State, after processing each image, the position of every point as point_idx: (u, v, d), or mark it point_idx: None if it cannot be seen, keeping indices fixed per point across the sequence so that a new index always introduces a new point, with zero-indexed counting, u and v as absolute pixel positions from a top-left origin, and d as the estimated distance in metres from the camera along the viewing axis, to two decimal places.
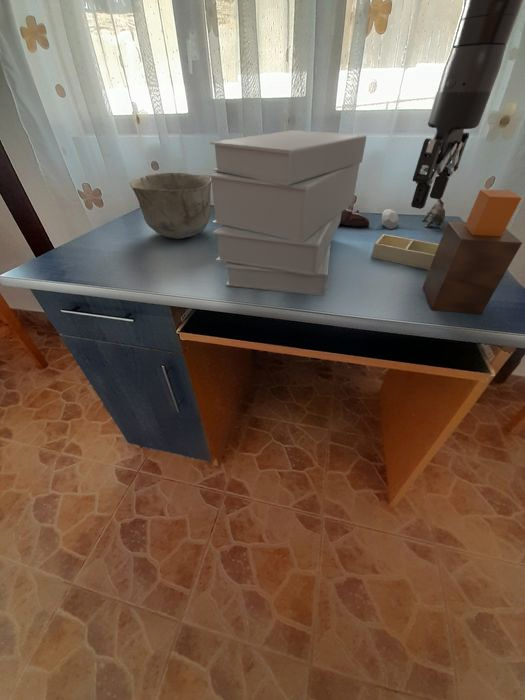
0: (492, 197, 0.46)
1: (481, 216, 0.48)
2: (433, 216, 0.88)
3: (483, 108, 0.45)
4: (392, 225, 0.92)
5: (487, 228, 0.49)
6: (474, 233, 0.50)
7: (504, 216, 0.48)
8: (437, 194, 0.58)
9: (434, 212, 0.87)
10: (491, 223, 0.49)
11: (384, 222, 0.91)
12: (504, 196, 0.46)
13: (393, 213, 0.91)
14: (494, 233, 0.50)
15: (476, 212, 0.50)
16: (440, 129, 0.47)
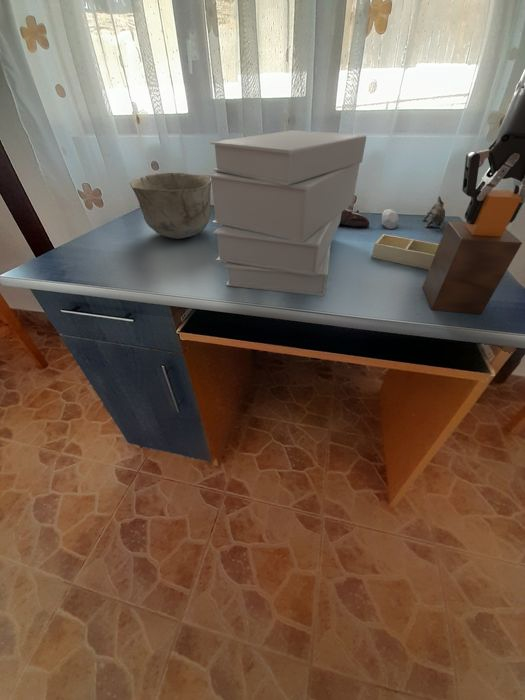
0: (492, 197, 0.46)
1: (481, 216, 0.48)
2: (433, 216, 0.88)
3: None
4: (392, 225, 0.92)
5: (487, 228, 0.49)
6: (474, 233, 0.50)
7: (504, 216, 0.48)
8: None
9: (434, 212, 0.87)
10: (491, 223, 0.49)
11: (384, 222, 0.91)
12: (504, 196, 0.46)
13: (393, 213, 0.91)
14: (494, 233, 0.50)
15: None
16: (498, 135, 0.44)
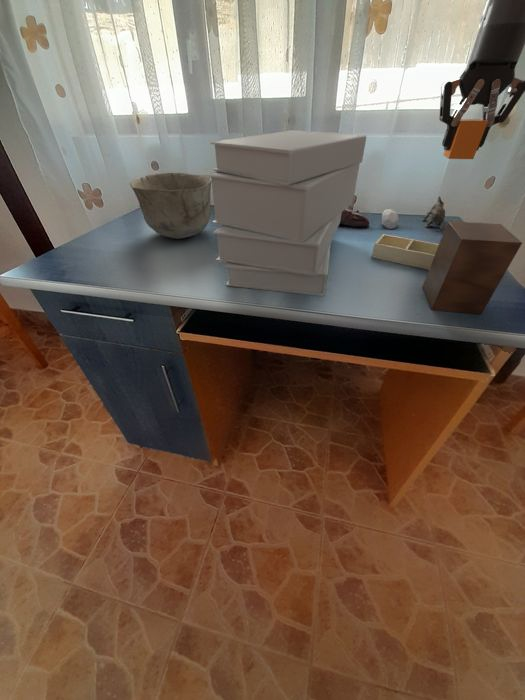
0: (463, 121, 0.55)
1: (455, 140, 0.57)
2: (433, 216, 0.88)
3: (506, 41, 0.47)
4: (392, 225, 0.92)
5: (461, 152, 0.58)
6: (450, 157, 0.58)
7: (475, 139, 0.56)
8: None
9: (434, 212, 0.87)
10: (463, 146, 0.57)
11: (384, 222, 0.91)
12: (474, 120, 0.55)
13: (393, 213, 0.91)
14: (467, 156, 0.58)
15: None
16: None
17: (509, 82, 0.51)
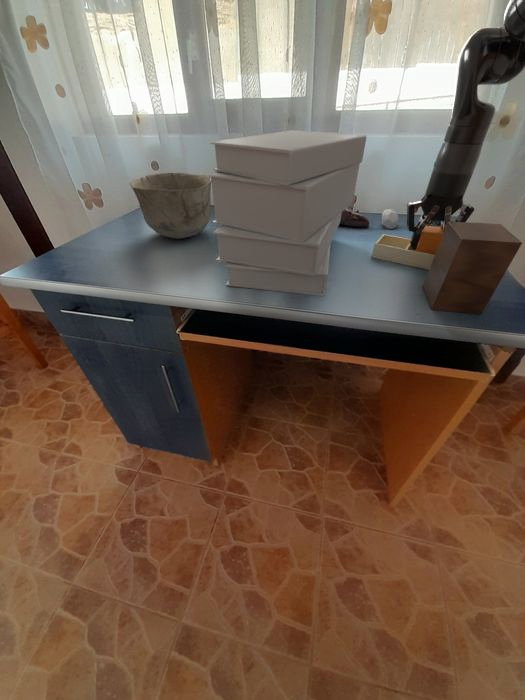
0: (425, 232, 0.68)
1: (419, 245, 0.70)
2: None
3: (452, 185, 0.60)
4: (392, 225, 0.92)
5: None
6: None
7: (434, 244, 0.69)
8: None
9: None
10: (426, 249, 0.70)
11: (384, 222, 0.91)
12: (433, 232, 0.68)
13: (393, 213, 0.91)
14: None
15: None
16: None
17: (459, 207, 0.65)
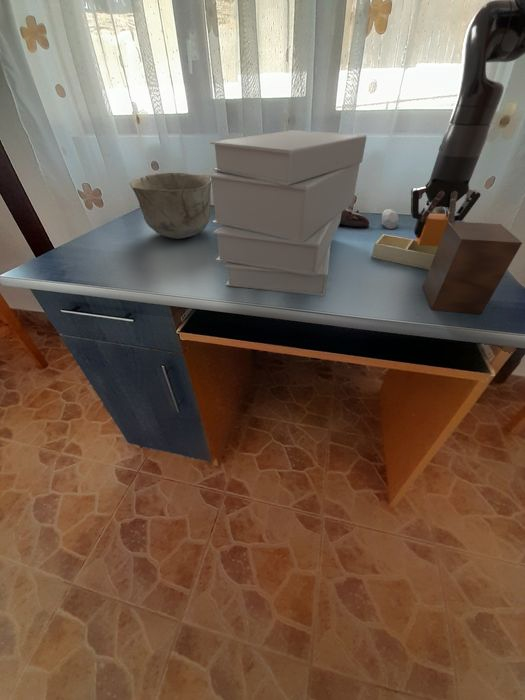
0: (429, 219, 0.66)
1: (423, 232, 0.68)
2: None
3: (458, 168, 0.58)
4: (392, 225, 0.92)
5: (428, 241, 0.69)
6: (420, 244, 0.70)
7: (439, 232, 0.68)
8: None
9: (434, 212, 0.87)
10: (430, 237, 0.69)
11: (384, 222, 0.91)
12: (438, 219, 0.66)
13: (393, 213, 0.91)
14: (433, 244, 0.69)
15: None
16: (430, 178, 0.63)
17: (464, 193, 0.63)
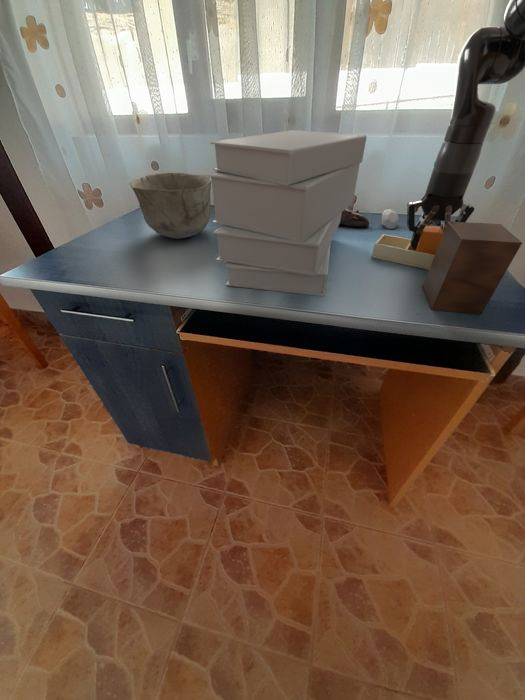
0: (425, 232, 0.68)
1: (419, 244, 0.70)
2: None
3: (453, 184, 0.60)
4: (392, 225, 0.92)
5: (424, 252, 0.71)
6: None
7: (435, 244, 0.69)
8: None
9: None
10: (426, 249, 0.70)
11: (384, 222, 0.91)
12: (433, 231, 0.68)
13: (393, 213, 0.91)
14: None
15: None
16: None
17: (459, 207, 0.65)
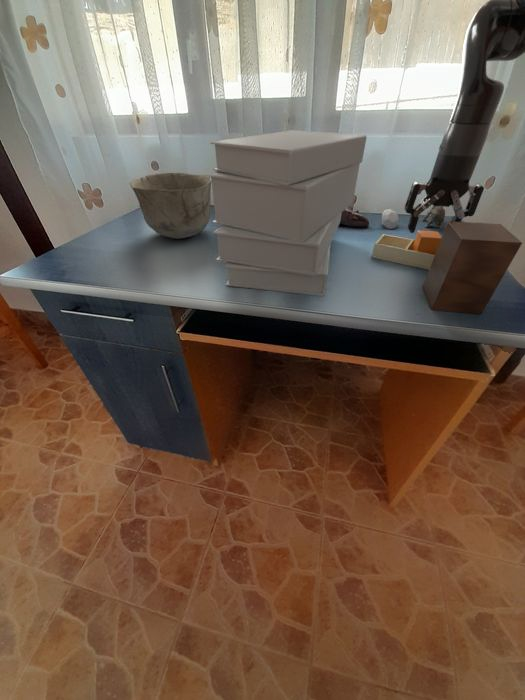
0: (423, 237, 0.69)
1: (417, 249, 0.71)
2: (433, 216, 0.88)
3: (459, 167, 0.58)
4: (392, 225, 0.92)
5: None
6: None
7: (433, 249, 0.70)
8: None
9: (434, 212, 0.87)
10: None
11: (384, 222, 0.91)
12: (431, 237, 0.69)
13: (393, 213, 0.91)
14: None
15: (415, 246, 0.73)
16: (430, 177, 0.63)
17: (465, 192, 0.63)
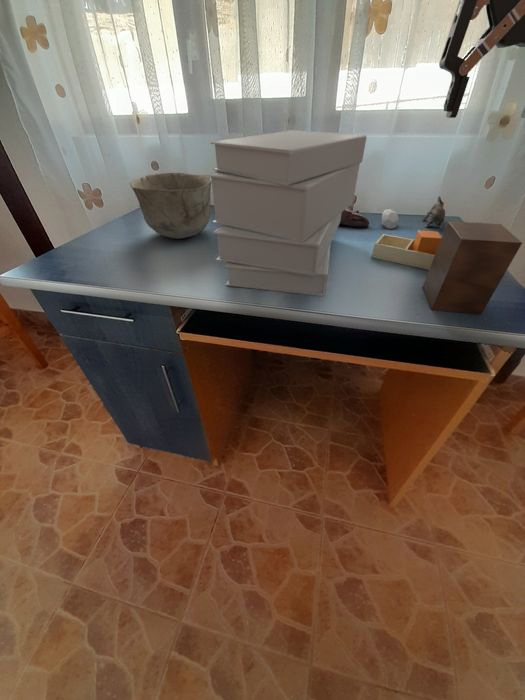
0: (423, 237, 0.69)
1: (417, 249, 0.71)
2: (433, 216, 0.88)
3: None
4: (392, 225, 0.92)
5: None
6: None
7: (433, 249, 0.70)
8: None
9: (434, 212, 0.87)
10: None
11: (384, 222, 0.91)
12: (431, 237, 0.69)
13: (393, 213, 0.91)
14: None
15: (415, 246, 0.73)
16: None
17: None
